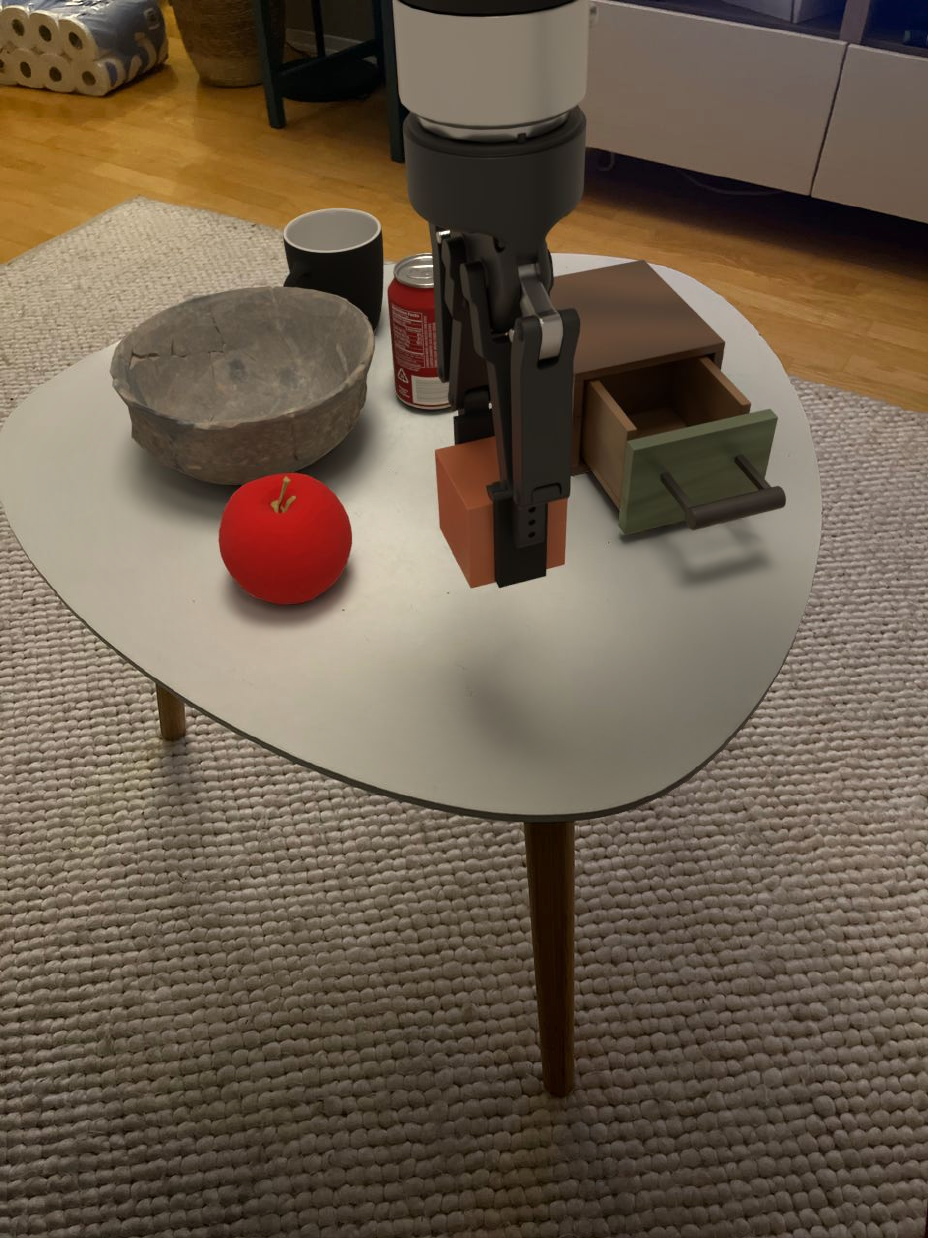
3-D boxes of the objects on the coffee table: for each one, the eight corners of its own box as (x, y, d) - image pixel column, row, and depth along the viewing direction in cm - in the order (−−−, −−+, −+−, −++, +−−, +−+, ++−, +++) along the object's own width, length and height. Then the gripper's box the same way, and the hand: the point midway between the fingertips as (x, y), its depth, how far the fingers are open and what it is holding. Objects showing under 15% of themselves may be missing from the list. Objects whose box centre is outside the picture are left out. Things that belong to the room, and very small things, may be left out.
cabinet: (708, 444, 89) (725, 341, 82) (569, 476, 86) (574, 373, 80) (634, 356, 99) (643, 258, 92) (506, 383, 96) (507, 284, 89)
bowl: (329, 360, 100) (316, 259, 93) (427, 478, 87) (420, 371, 80) (110, 424, 93) (78, 321, 86) (180, 562, 80) (149, 453, 73)
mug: (338, 297, 108) (326, 199, 101) (408, 322, 104) (401, 221, 97) (256, 350, 101) (238, 248, 94) (328, 378, 97) (314, 275, 90)
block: (565, 565, 58) (568, 485, 54) (470, 589, 57) (467, 509, 53) (529, 506, 62) (530, 427, 58) (439, 528, 61) (434, 449, 57)
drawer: (800, 548, 78) (822, 462, 73) (658, 585, 76) (671, 499, 70) (679, 408, 91) (691, 326, 86) (556, 436, 89) (559, 353, 83)
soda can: (463, 418, 92) (460, 290, 84) (388, 412, 93) (376, 285, 85) (477, 376, 97) (475, 251, 89) (405, 370, 98) (395, 246, 90)
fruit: (257, 644, 74) (231, 534, 67) (213, 568, 80) (185, 459, 72) (377, 597, 77) (365, 487, 70) (327, 527, 83) (311, 419, 75)
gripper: (683, 176, 38) (633, 636, 54) (502, 29, 50) (506, 438, 67) (482, 213, 36) (493, 675, 52) (348, 52, 49) (390, 464, 65)
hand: (500, 542), depth 59 cm, fingers closed on block, 5 cm apart
